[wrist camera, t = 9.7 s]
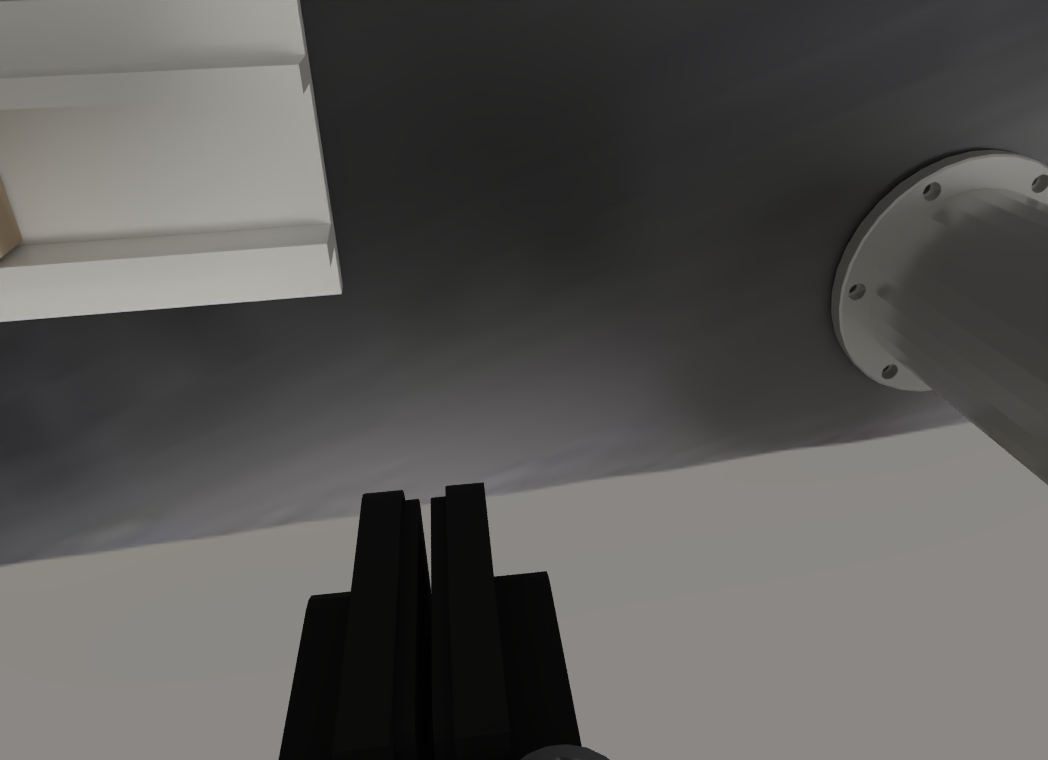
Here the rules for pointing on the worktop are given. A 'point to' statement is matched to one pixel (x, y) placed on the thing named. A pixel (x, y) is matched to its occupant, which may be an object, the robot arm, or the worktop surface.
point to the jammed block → (7, 224)
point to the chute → (160, 157)
